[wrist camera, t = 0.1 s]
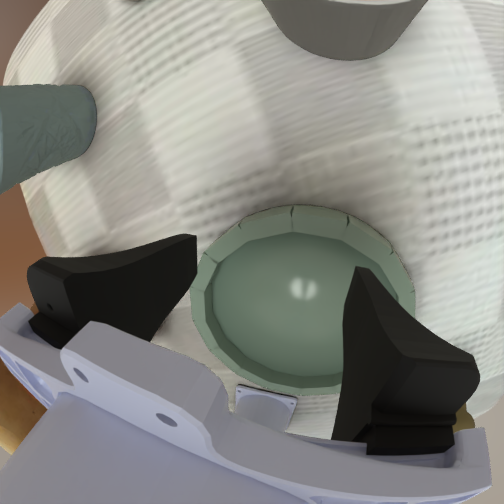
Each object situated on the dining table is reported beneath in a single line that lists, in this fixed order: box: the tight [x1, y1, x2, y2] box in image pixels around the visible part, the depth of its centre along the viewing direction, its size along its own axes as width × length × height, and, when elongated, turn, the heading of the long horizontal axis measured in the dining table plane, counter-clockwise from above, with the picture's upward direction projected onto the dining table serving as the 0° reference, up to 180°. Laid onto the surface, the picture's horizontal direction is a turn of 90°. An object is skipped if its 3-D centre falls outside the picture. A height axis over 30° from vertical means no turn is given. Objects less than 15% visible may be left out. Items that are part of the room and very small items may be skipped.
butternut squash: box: [0, 302, 48, 456], centre depth 20 cm, size 14×13×25 cm
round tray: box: [190, 205, 415, 396], centre depth 24 cm, size 20×20×2 cm
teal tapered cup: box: [0, 84, 97, 194], centre depth 17 cm, size 10×10×12 cm
